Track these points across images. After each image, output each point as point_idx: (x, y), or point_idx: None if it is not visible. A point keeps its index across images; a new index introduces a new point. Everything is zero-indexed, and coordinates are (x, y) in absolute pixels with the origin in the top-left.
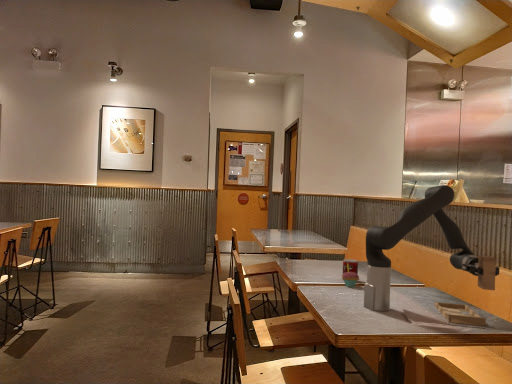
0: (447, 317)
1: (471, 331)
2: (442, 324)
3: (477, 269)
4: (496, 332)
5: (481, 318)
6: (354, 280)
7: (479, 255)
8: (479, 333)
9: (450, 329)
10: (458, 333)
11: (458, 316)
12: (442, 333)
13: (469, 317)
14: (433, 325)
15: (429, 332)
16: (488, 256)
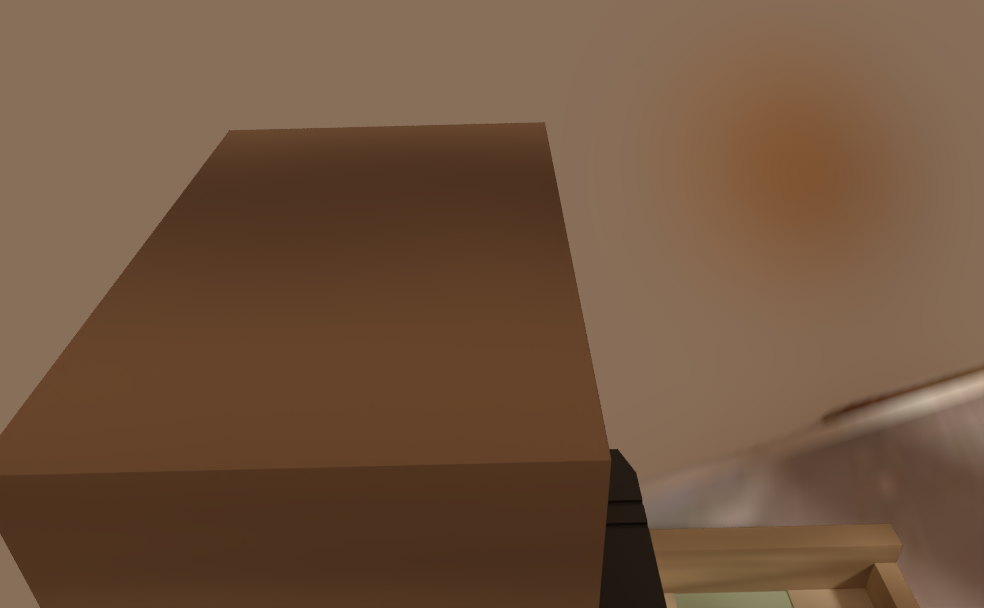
0: (900, 585)
1: (690, 504)
2: (917, 589)
3: (650, 540)
4: None
5: None
6: None
7: (571, 432)
8: (639, 484)
9: (835, 495)
10: (776, 441)
11: (806, 530)
12: (869, 412)
13: (712, 532)
14: (973, 538)
15: (945, 404)
16: (208, 327)
